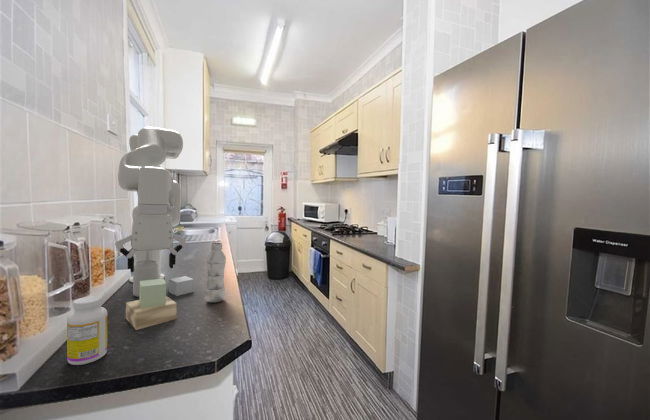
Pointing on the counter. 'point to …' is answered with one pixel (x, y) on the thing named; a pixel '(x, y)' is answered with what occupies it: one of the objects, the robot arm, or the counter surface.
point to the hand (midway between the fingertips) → (152, 269)
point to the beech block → (150, 313)
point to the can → (143, 274)
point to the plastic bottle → (215, 274)
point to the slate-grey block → (180, 285)
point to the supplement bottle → (86, 331)
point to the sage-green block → (152, 293)
